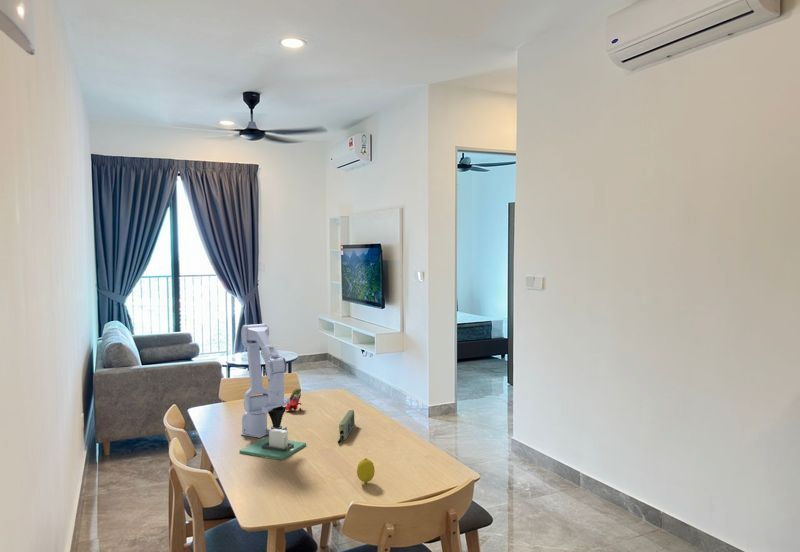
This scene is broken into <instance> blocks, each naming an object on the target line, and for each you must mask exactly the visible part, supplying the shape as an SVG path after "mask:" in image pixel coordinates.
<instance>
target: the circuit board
mask: <svg viewBox="0 0 800 552" xmlns="http://www.w3.org/2000/svg"><path fill="white" fill-rule="evenodd" d="M306 446H307V443H306V442H302V441H295V440H288V447H286V448H278V447H272V446H269V436H264V437H262V438H261V439H259V440H256V441H255V442H253V443H251V444H250V445H248V446H246V447H242V448H241V449H239V454H242V453H243V455H248V454H249V456H254V455H255V456H254V457H260V458H261V457H262V458H266V457H267V458H268V459H271V458H272V459H273V460H279V461H283V460H284V459H286V458H287V457H289V456H291V455H292V454H294V453H296V452H297V451H299V450H301V449H303V448H304V447H306ZM267 458H266V459H267ZM272 459H271V460H272Z"/></svg>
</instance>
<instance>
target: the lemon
mask: <svg viewBox="0 0 800 552" xmlns="http://www.w3.org/2000/svg"><path fill="white" fill-rule="evenodd" d="M356 469H357V470H356V474H357V478H358V480H360V481H361V482H363V483H364V484H368V483H369V482H370V481H372V479H373V478H374V476H375V465H374V463H373V461H372V460H370V459H369V458H366V457H365V458H364V459H362V460H360V461H359V462H358V464H357V468H356Z"/></svg>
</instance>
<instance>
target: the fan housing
mask: <svg viewBox="0 0 800 552" xmlns="http://www.w3.org/2000/svg"><path fill="white" fill-rule="evenodd" d="M272 429H279V430H286V431H288V426H285V425H280V427H279V428H273V425H271V426H269V427H267V433H268V434H267V435H268V436H269V431H270V430H272Z"/></svg>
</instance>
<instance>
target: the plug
mask: <svg viewBox="0 0 800 552" xmlns="http://www.w3.org/2000/svg"><path fill="white" fill-rule="evenodd" d="M288 434H289V431H288V430H287V431H286V430H279V429H272V430H270V431H269V435H268V437H269V446H272V447H278V448H286V447H288Z"/></svg>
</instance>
